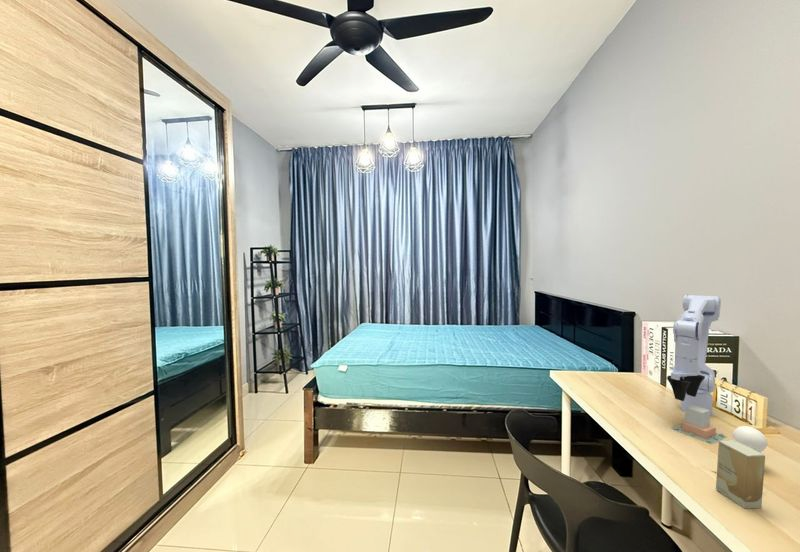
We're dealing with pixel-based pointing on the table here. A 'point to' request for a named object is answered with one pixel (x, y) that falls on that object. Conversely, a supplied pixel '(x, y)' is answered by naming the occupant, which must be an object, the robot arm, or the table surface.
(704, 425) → the grey brick
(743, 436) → the lightbulb
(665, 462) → the table surface
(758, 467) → the skincare box
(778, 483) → the table surface
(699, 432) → the base brick
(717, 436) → the build plate
